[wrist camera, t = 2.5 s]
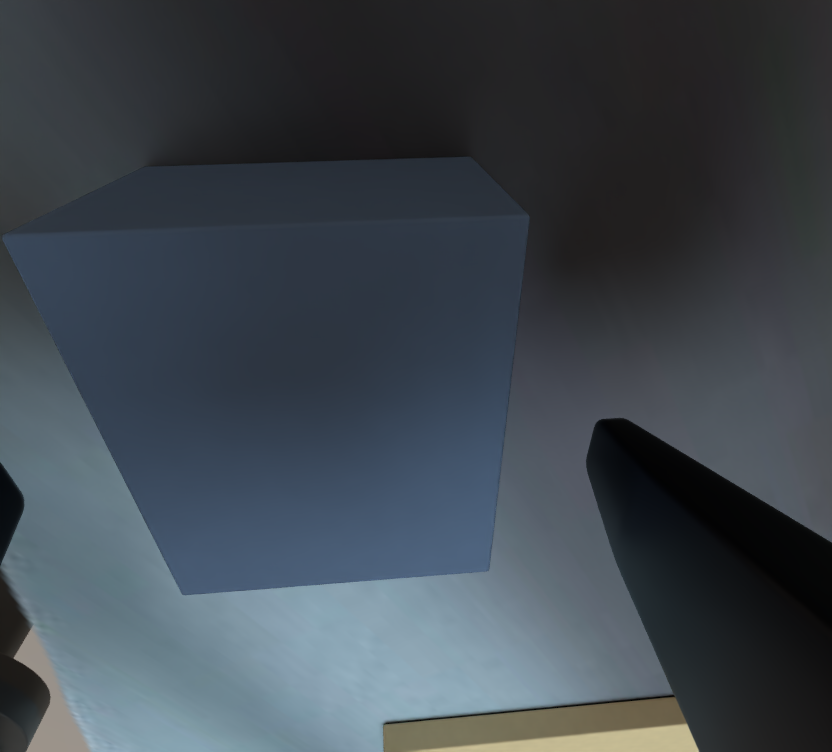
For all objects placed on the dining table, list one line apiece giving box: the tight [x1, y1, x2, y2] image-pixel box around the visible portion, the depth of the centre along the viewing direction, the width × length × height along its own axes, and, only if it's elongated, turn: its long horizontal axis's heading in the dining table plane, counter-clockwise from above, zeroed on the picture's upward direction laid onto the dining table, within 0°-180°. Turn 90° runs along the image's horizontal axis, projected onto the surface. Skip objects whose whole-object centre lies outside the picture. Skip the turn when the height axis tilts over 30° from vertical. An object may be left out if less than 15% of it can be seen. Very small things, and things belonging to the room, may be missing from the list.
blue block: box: [2, 157, 530, 595], centre depth 9 cm, size 6×7×4 cm
